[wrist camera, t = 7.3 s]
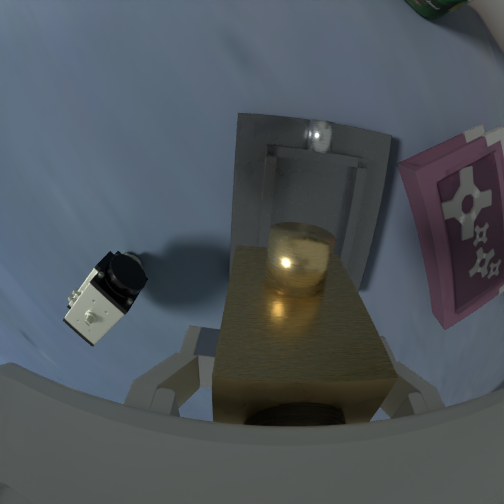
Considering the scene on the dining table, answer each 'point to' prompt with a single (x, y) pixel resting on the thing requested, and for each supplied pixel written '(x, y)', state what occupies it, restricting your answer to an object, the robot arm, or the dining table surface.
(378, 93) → the dining table surface
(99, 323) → the pneumatic valve
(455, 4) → the coffee jar
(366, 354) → the brass valve
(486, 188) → the book
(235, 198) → the plate
